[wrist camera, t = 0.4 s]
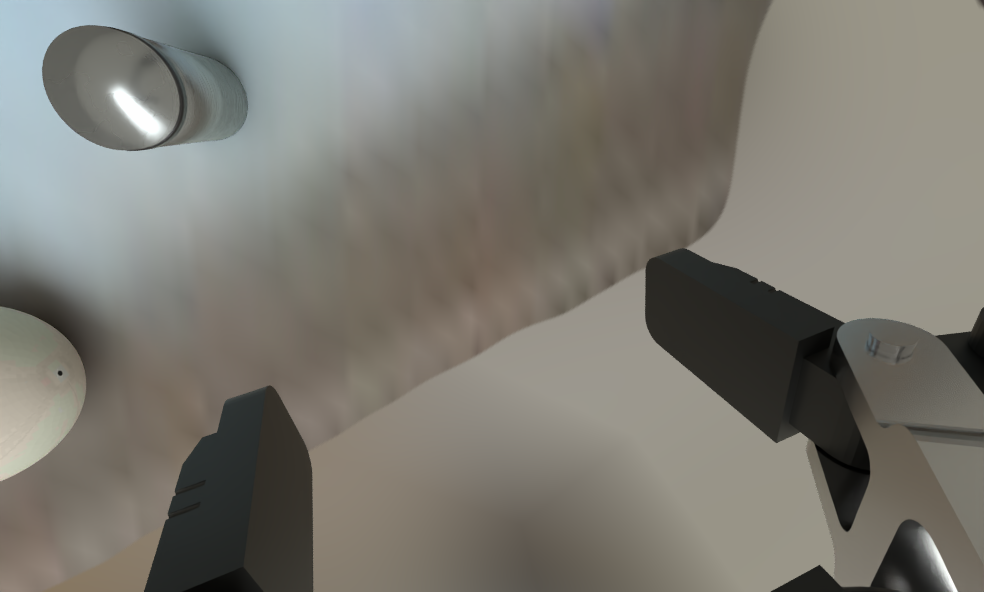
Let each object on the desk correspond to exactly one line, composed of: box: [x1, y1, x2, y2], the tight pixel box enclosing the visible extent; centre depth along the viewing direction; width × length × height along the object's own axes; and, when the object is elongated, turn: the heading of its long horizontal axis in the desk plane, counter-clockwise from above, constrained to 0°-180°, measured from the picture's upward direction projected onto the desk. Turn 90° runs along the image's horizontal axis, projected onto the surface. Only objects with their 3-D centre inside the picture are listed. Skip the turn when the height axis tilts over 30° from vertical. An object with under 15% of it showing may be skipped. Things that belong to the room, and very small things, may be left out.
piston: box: [42, 25, 248, 151], centre depth 22 cm, size 4×4×9 cm
